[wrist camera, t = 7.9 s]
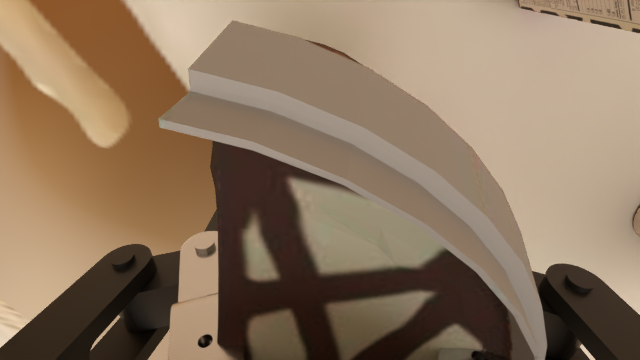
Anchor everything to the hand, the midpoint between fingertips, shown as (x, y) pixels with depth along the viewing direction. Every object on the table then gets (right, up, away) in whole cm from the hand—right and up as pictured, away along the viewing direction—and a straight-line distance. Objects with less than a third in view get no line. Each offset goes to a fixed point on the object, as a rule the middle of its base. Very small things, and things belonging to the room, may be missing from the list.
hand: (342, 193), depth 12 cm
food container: (+1, +1, +2) cm, 2 cm away
